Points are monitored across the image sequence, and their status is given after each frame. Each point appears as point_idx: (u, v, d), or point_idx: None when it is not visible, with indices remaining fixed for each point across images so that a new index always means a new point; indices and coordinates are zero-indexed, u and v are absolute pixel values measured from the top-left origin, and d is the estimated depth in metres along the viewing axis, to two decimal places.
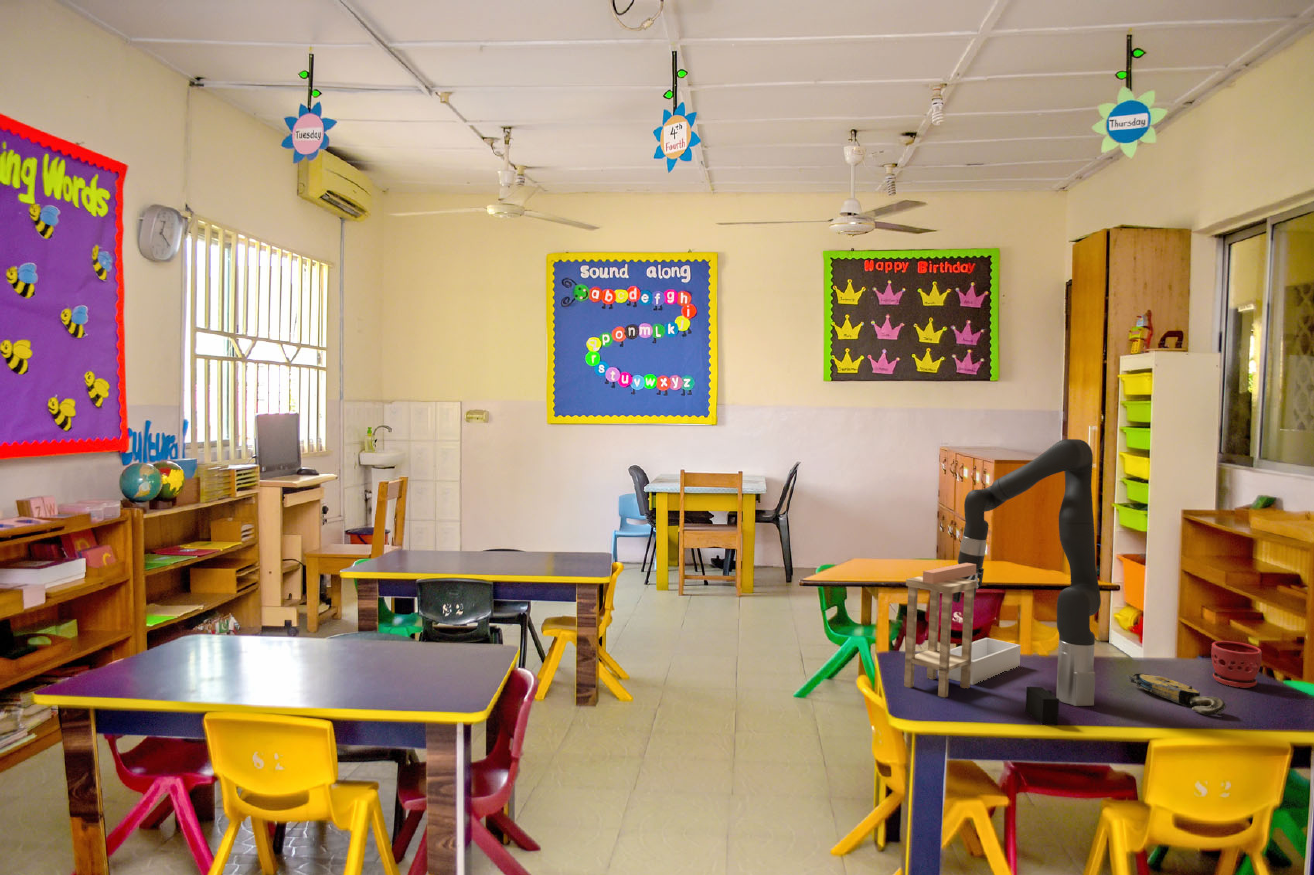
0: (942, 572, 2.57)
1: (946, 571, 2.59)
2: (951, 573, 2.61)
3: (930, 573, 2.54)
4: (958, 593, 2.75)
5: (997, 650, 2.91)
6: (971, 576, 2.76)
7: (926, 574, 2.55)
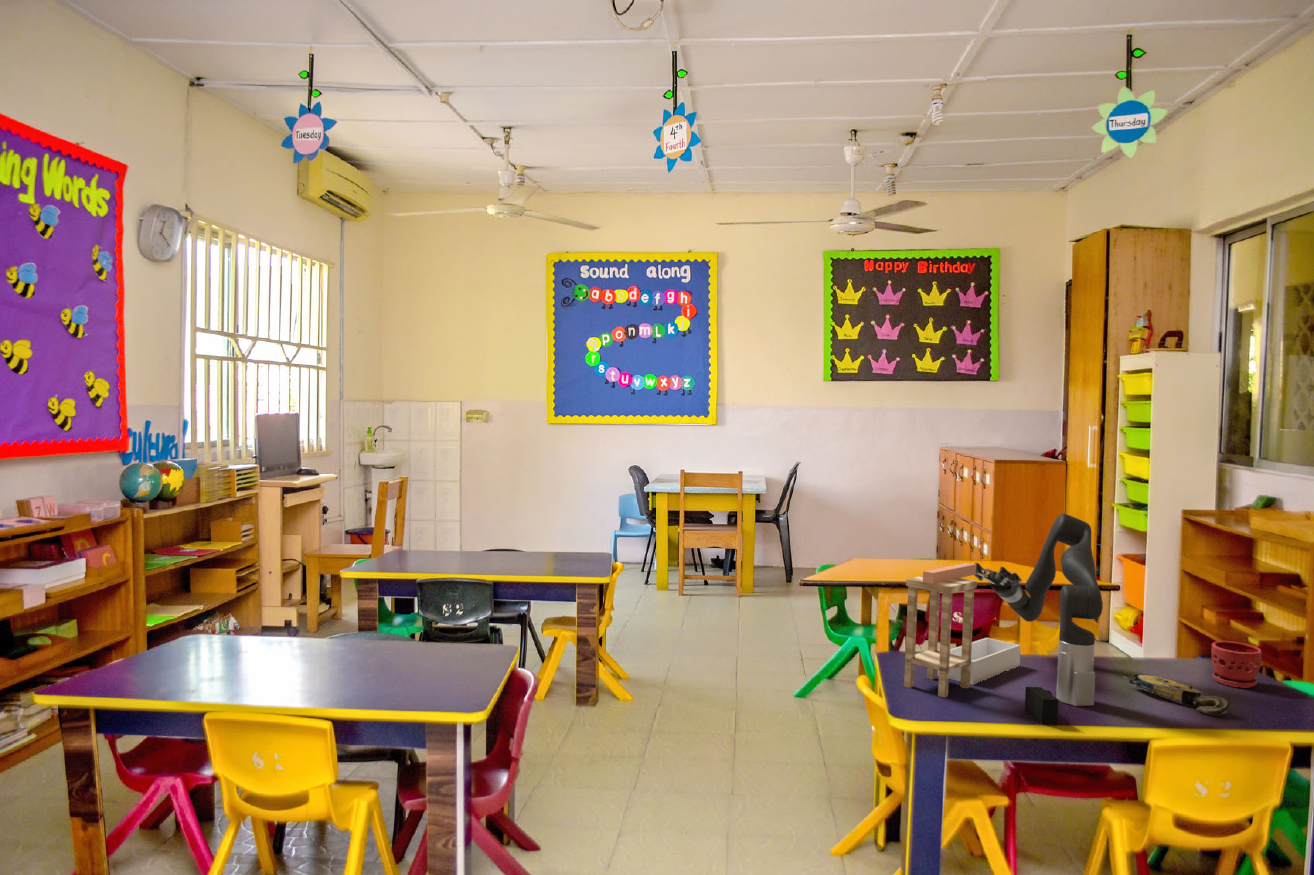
0: (942, 572, 2.57)
1: (946, 571, 2.59)
2: (951, 573, 2.61)
3: (930, 573, 2.54)
4: None
5: (997, 650, 2.91)
6: (996, 572, 2.87)
7: (926, 574, 2.55)
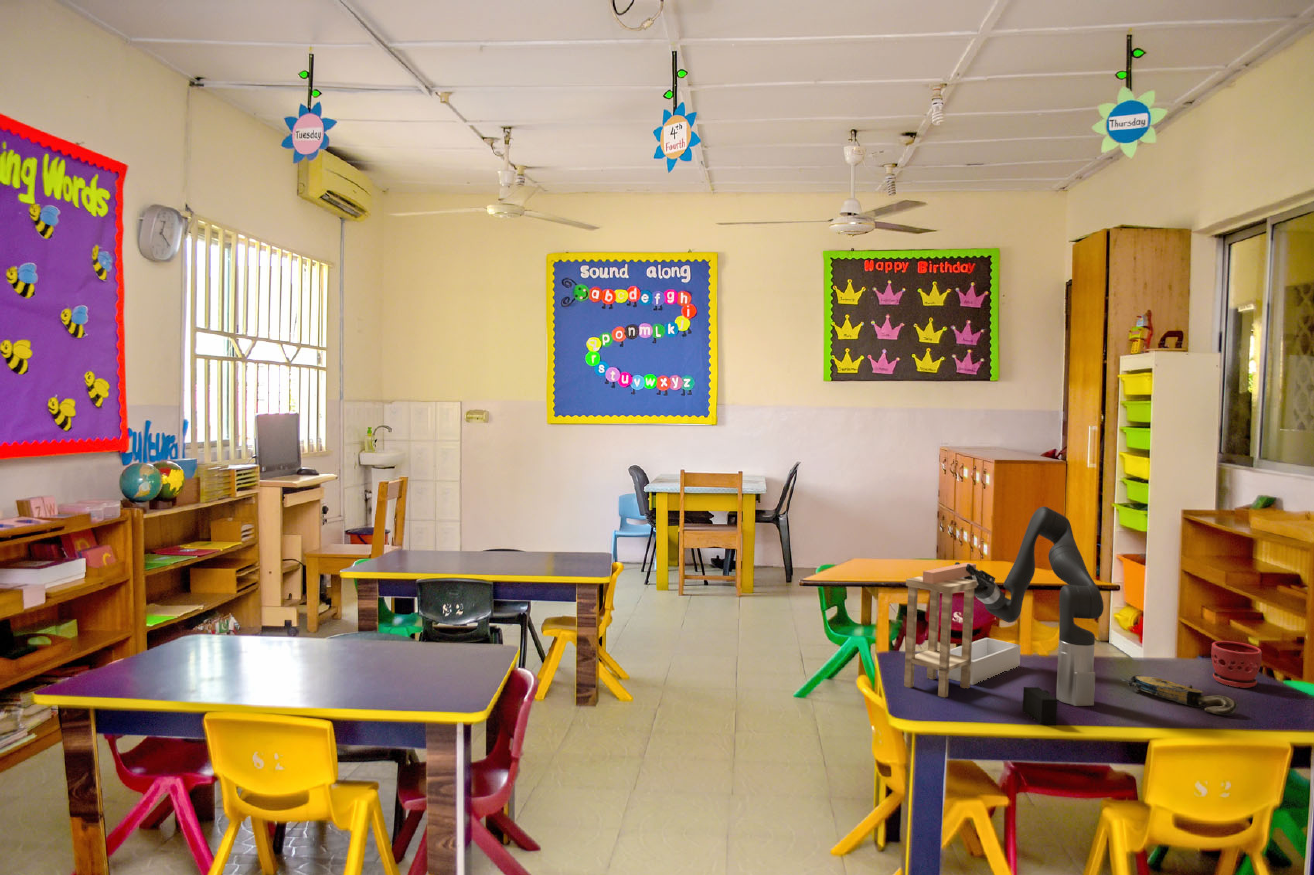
0: (942, 572, 2.57)
1: (946, 571, 2.59)
2: (951, 573, 2.61)
3: (930, 573, 2.54)
4: None
5: (997, 650, 2.91)
6: None
7: (926, 574, 2.55)
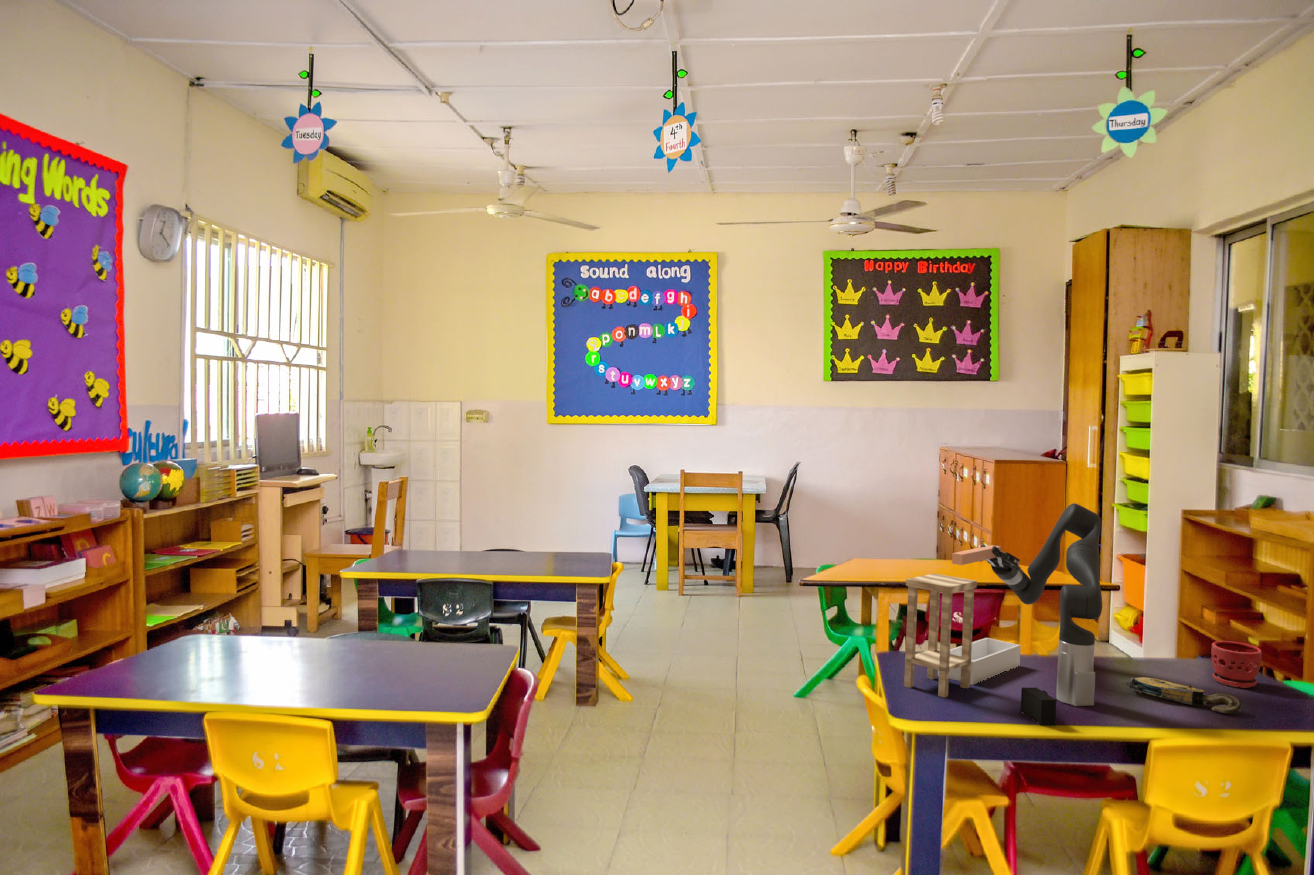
0: (970, 554, 2.69)
1: (974, 553, 2.70)
2: (978, 555, 2.72)
3: (959, 555, 2.65)
4: None
5: (997, 650, 2.91)
6: None
7: (955, 556, 2.66)
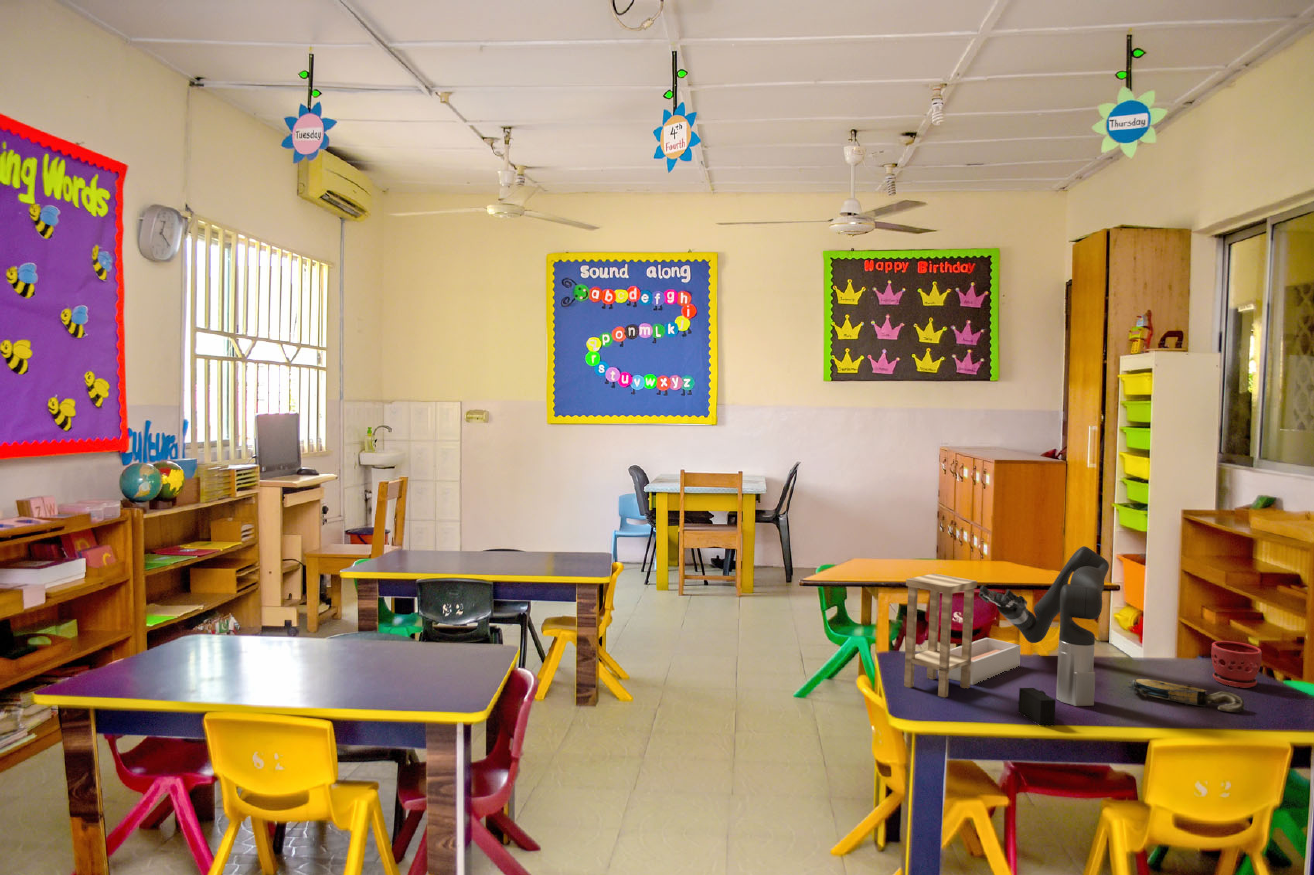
0: None
1: None
2: None
3: None
4: None
5: None
6: (1002, 594, 2.91)
7: None
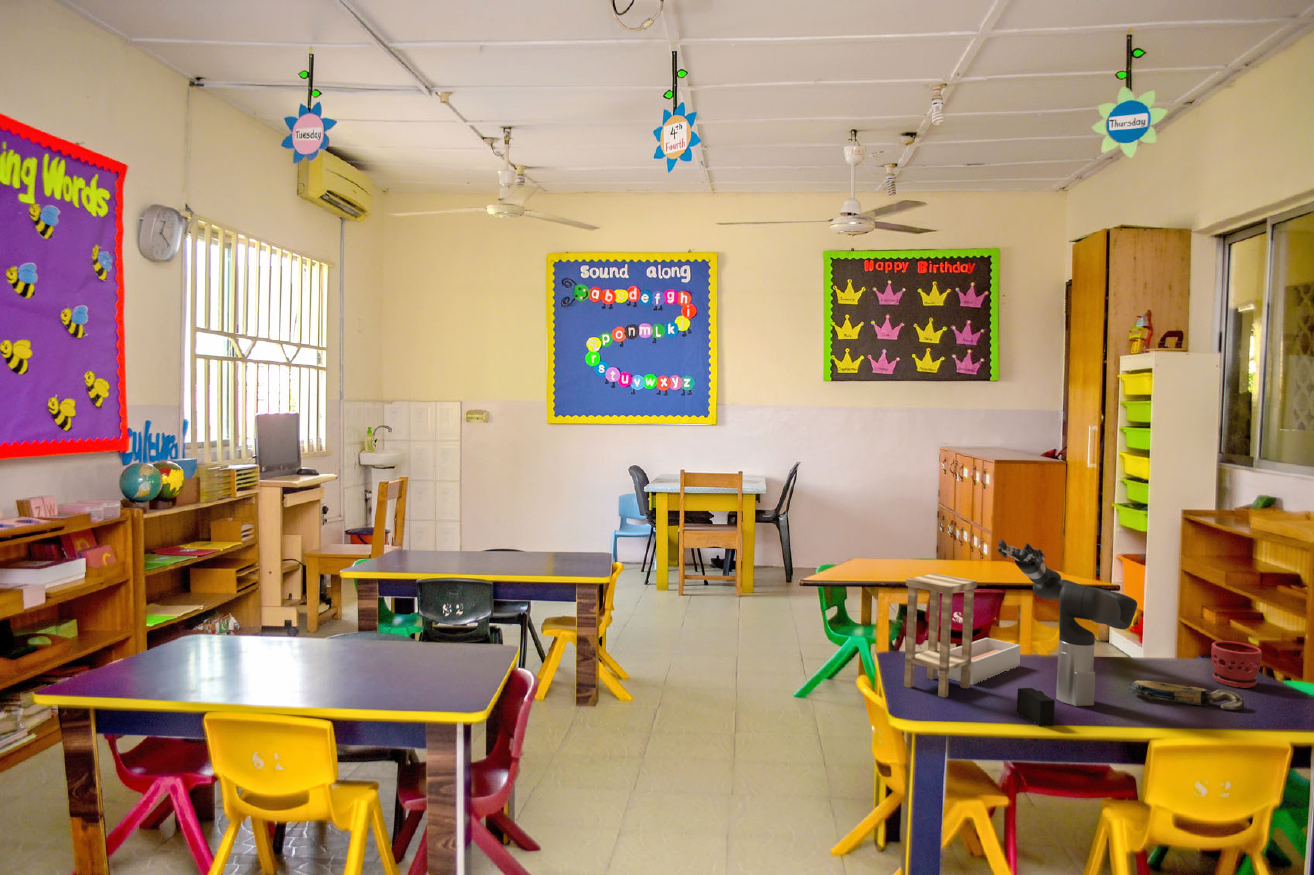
0: None
1: None
2: None
3: None
4: None
5: None
6: (1020, 549, 2.99)
7: None
